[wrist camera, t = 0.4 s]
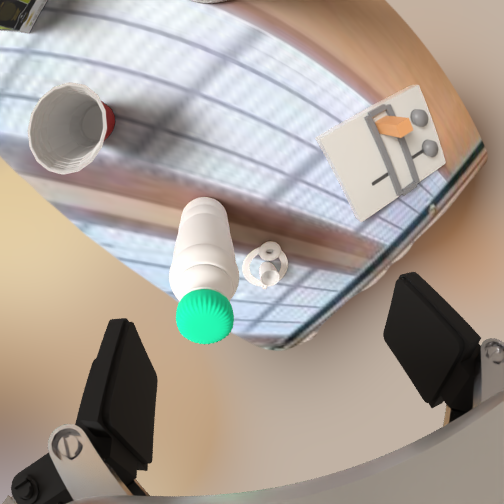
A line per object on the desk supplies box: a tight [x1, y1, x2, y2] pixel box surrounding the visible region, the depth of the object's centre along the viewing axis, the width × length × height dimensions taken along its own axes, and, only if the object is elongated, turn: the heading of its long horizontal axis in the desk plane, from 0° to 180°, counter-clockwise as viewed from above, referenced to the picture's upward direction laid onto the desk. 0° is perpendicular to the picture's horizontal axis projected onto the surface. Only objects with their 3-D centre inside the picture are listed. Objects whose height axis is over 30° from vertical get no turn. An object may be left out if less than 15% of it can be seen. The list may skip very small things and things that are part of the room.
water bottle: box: [169, 197, 239, 344], centre depth 33 cm, size 7×7×25 cm
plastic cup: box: [28, 82, 115, 174], centre depth 29 cm, size 11×11×12 cm
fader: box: [374, 115, 413, 138], centre depth 36 cm, size 2×3×6 cm
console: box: [315, 85, 446, 222], centre depth 41 cm, size 16×22×4 cm
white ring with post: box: [242, 241, 288, 289], centre depth 48 cm, size 9×8×4 cm
